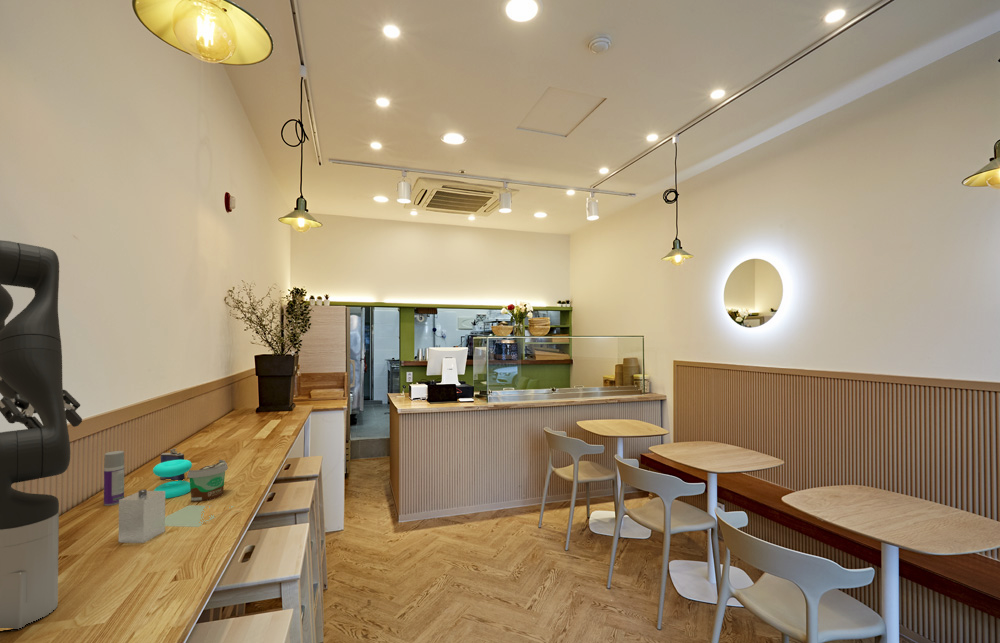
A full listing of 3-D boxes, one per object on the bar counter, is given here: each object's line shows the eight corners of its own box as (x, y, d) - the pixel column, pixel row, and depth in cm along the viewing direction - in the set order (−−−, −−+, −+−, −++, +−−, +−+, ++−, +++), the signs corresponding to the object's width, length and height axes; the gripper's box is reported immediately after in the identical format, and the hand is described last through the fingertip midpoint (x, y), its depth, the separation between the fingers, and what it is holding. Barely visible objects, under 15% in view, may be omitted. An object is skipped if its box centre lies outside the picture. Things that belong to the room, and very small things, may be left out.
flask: (158, 479, 158) (158, 448, 159) (166, 477, 161) (166, 446, 162) (179, 481, 156) (180, 450, 157) (187, 479, 159) (187, 448, 159)
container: (100, 504, 136) (101, 453, 136) (119, 499, 140) (119, 450, 141) (108, 506, 134) (108, 455, 134) (127, 501, 138) (127, 451, 138)
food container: (204, 506, 133) (205, 471, 134) (187, 504, 135) (187, 470, 135) (237, 491, 146) (237, 460, 146) (220, 490, 147) (220, 459, 147)
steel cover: (143, 544, 109) (143, 495, 110) (118, 543, 110) (118, 494, 110) (165, 532, 116) (165, 486, 116) (141, 532, 116) (141, 486, 116)
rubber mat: (198, 528, 118) (198, 526, 118) (147, 527, 119) (147, 525, 119) (234, 507, 132) (234, 506, 132) (188, 506, 133) (188, 505, 133)
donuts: (199, 459, 148) (172, 468, 138) (199, 490, 147) (172, 501, 138) (173, 457, 150) (144, 466, 140) (173, 488, 149) (144, 499, 139)
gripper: (-9, 370, 101) (37, 422, 100) (58, 365, 115) (99, 411, 114) (-31, 394, 101) (15, 446, 100) (38, 386, 116) (80, 432, 114)
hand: (60, 427), depth 107 cm, fingers open, 8 cm apart
